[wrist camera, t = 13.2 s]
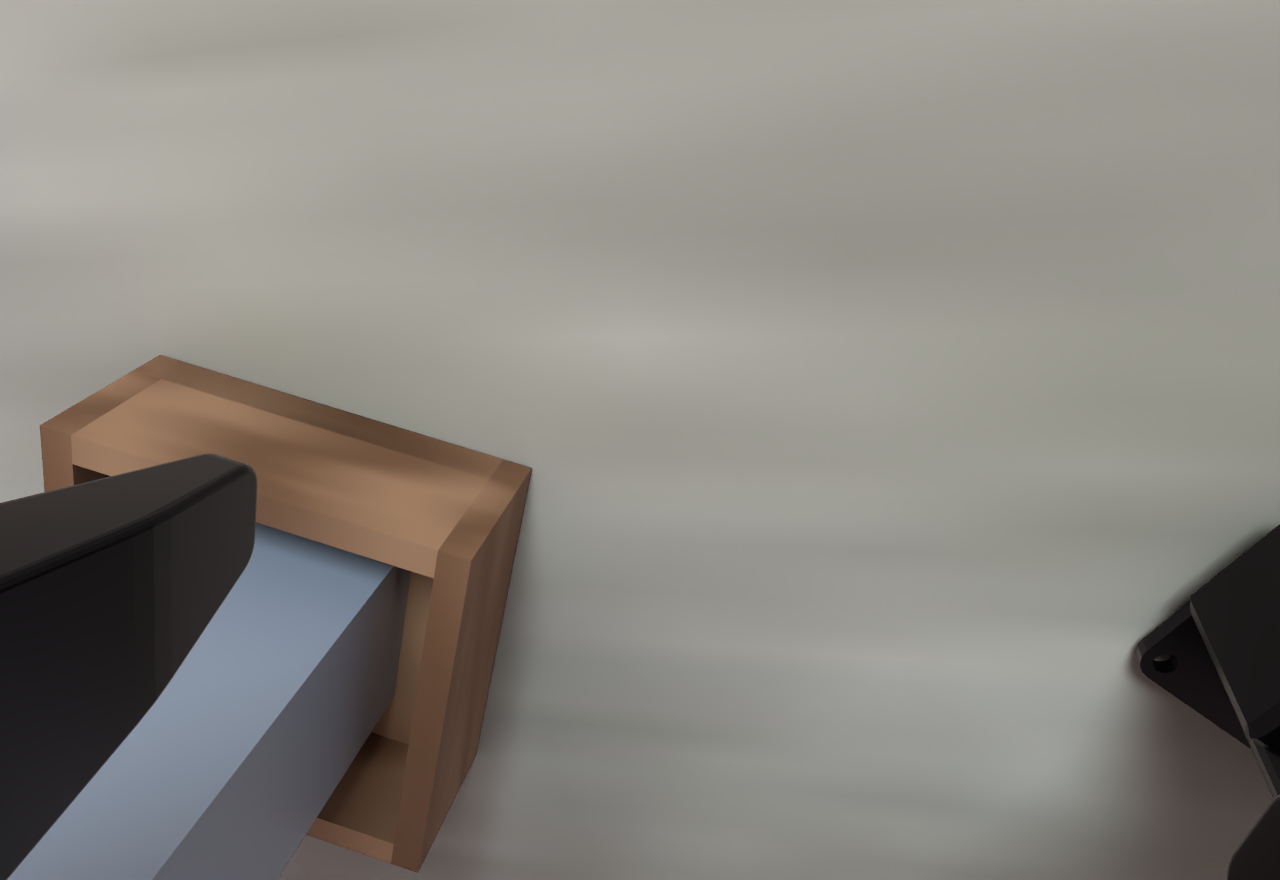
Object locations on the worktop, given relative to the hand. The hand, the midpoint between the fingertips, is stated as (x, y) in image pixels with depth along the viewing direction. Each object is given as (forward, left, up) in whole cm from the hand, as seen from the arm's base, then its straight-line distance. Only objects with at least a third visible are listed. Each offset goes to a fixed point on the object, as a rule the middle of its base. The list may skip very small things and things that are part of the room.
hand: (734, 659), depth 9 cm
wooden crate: (+5, +14, -13) cm, 20 cm away
